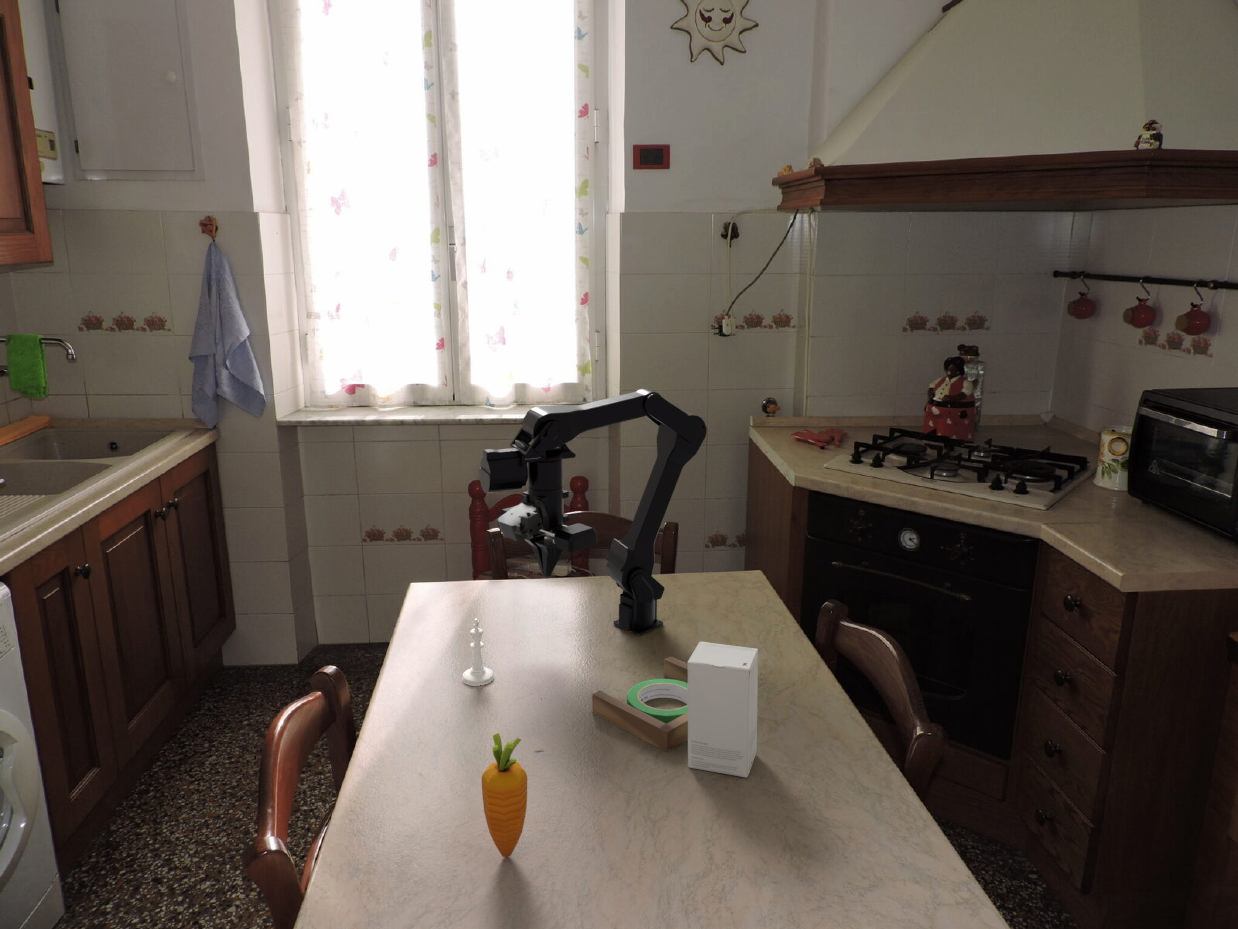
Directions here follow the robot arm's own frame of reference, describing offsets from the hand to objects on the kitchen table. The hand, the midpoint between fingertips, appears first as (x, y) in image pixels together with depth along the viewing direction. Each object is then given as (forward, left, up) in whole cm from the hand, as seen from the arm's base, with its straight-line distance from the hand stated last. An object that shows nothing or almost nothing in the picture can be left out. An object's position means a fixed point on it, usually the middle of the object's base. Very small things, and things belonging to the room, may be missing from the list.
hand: (546, 576), depth 152 cm
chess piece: (+16, +2, -12) cm, 20 cm away
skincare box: (+7, +43, -12) cm, 45 cm away
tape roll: (+3, +29, -12) cm, 32 cm away
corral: (+2, +28, -12) cm, 31 cm away
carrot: (+39, +38, -12) cm, 56 cm away
